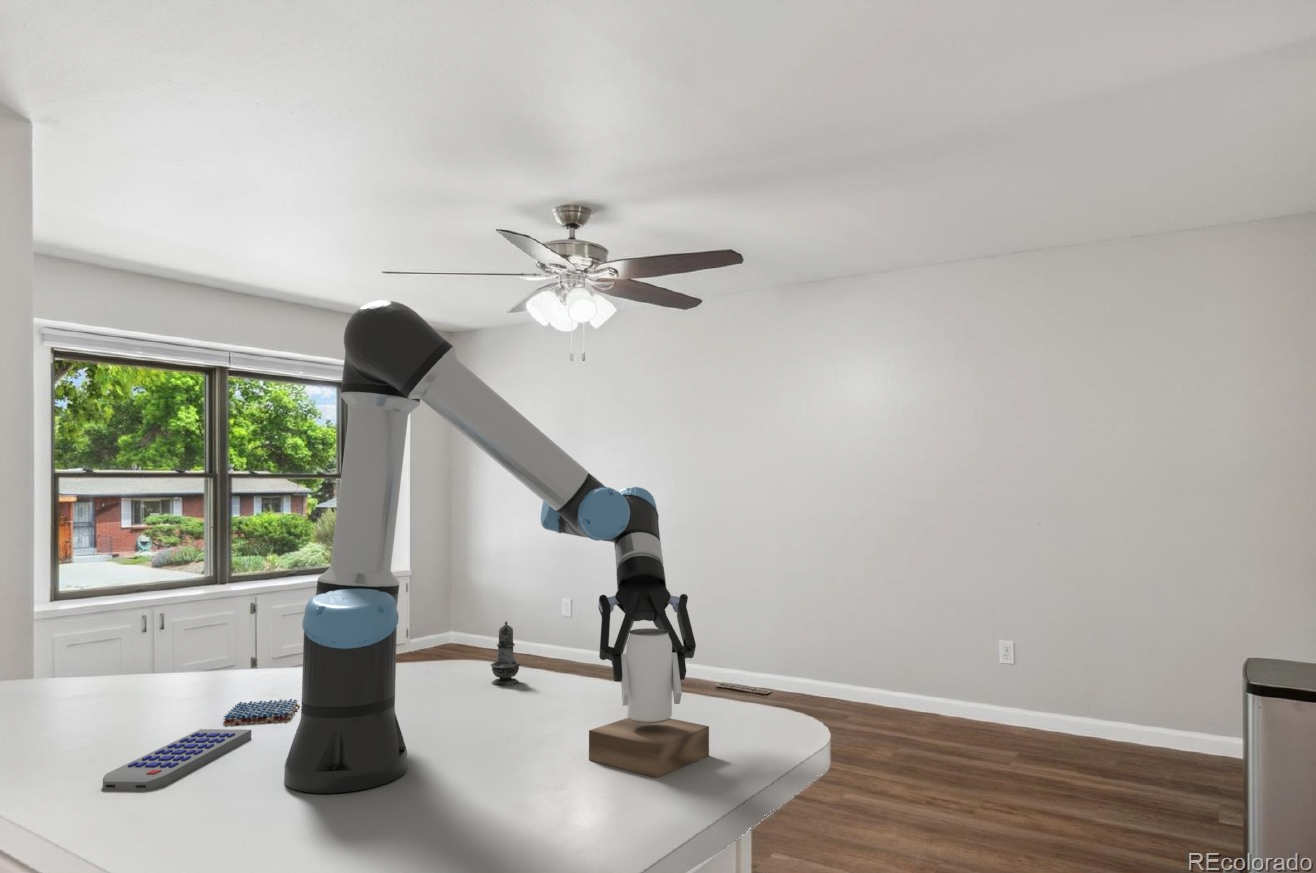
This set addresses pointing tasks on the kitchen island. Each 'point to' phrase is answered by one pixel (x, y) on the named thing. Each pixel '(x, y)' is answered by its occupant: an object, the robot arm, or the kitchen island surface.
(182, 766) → the remote control
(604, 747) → the walnut stand
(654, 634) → the can
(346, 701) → the robot arm
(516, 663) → the salt shaker
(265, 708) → the woven mat
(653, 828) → the kitchen island surface
